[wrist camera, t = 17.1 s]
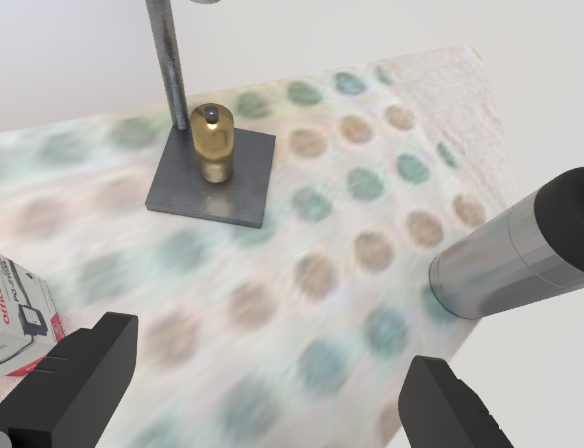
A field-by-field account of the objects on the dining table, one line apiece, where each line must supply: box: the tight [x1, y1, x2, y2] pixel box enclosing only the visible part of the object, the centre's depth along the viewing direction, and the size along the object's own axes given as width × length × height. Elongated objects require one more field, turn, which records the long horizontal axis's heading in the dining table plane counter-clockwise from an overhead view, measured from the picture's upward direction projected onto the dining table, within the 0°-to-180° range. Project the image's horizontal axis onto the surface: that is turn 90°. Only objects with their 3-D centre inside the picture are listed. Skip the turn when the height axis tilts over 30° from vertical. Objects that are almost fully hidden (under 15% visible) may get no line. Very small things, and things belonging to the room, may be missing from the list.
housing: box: [190, 103, 234, 182], centre depth 40 cm, size 4×4×10 cm
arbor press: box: [145, 0, 276, 228], centre depth 31 cm, size 15×15×32 cm
